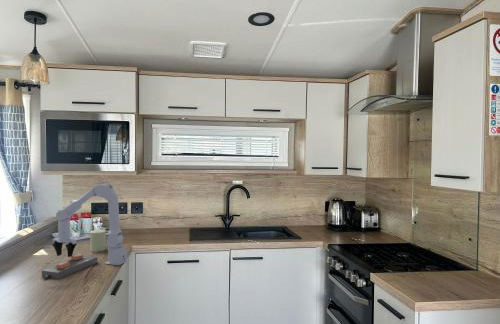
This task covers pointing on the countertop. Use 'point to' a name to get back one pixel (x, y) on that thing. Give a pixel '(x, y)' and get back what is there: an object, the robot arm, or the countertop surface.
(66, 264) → the switch
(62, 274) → the power strip
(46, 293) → the countertop surface
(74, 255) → the switch
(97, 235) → the can
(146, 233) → the countertop surface
